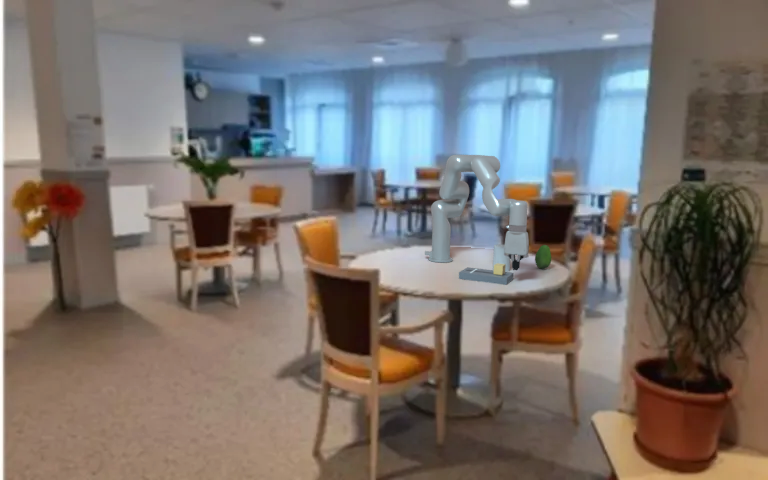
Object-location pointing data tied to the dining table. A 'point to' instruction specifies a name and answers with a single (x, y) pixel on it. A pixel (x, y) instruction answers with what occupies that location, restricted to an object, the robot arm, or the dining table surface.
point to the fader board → (485, 276)
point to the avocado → (543, 257)
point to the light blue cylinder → (500, 257)
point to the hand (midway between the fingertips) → (515, 269)
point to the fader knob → (499, 269)
